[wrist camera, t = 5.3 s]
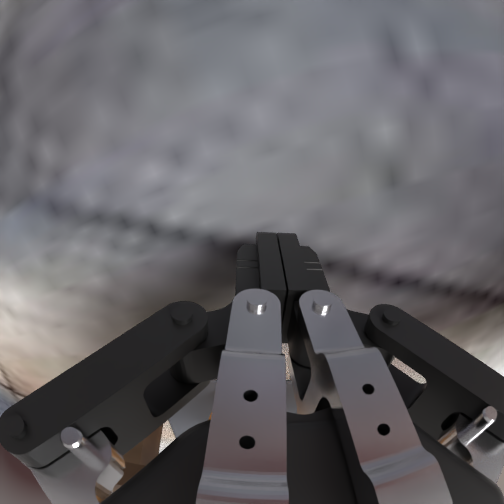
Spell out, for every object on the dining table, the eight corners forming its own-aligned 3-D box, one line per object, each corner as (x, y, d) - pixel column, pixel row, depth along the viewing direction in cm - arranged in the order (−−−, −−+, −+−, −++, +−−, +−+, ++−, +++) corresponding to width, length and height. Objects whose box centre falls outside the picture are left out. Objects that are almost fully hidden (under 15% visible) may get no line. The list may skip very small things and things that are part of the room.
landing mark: (153, 374, 19) (152, 376, 18) (352, 376, 19) (353, 378, 19) (180, 445, 26) (180, 447, 26) (312, 446, 26) (312, 448, 26)
